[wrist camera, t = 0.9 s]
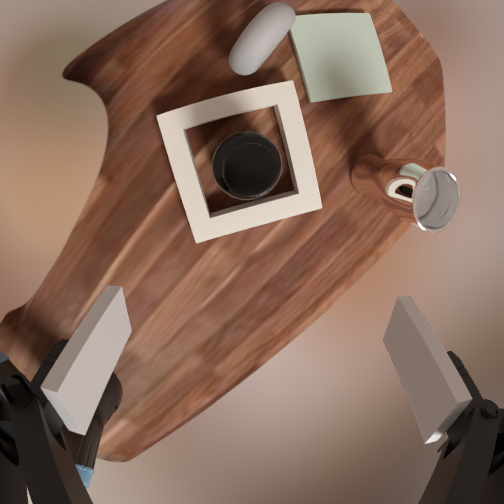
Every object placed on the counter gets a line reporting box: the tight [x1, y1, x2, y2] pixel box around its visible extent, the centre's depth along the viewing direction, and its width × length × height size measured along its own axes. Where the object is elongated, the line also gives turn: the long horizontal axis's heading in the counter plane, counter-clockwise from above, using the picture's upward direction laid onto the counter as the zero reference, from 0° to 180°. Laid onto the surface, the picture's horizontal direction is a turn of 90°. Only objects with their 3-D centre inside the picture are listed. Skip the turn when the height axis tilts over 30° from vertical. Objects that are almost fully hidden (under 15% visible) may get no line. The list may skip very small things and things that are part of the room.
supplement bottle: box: [212, 131, 282, 200], centre depth 31 cm, size 7×7×12 cm
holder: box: [157, 80, 322, 243], centre depth 35 cm, size 16×16×2 cm
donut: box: [228, 2, 296, 75], centre depth 27 cm, size 10×4×10 cm, turn 146°
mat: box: [289, 13, 392, 103], centre depth 32 cm, size 12×12×1 cm
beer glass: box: [351, 154, 461, 233], centre depth 32 cm, size 7×7×15 cm
